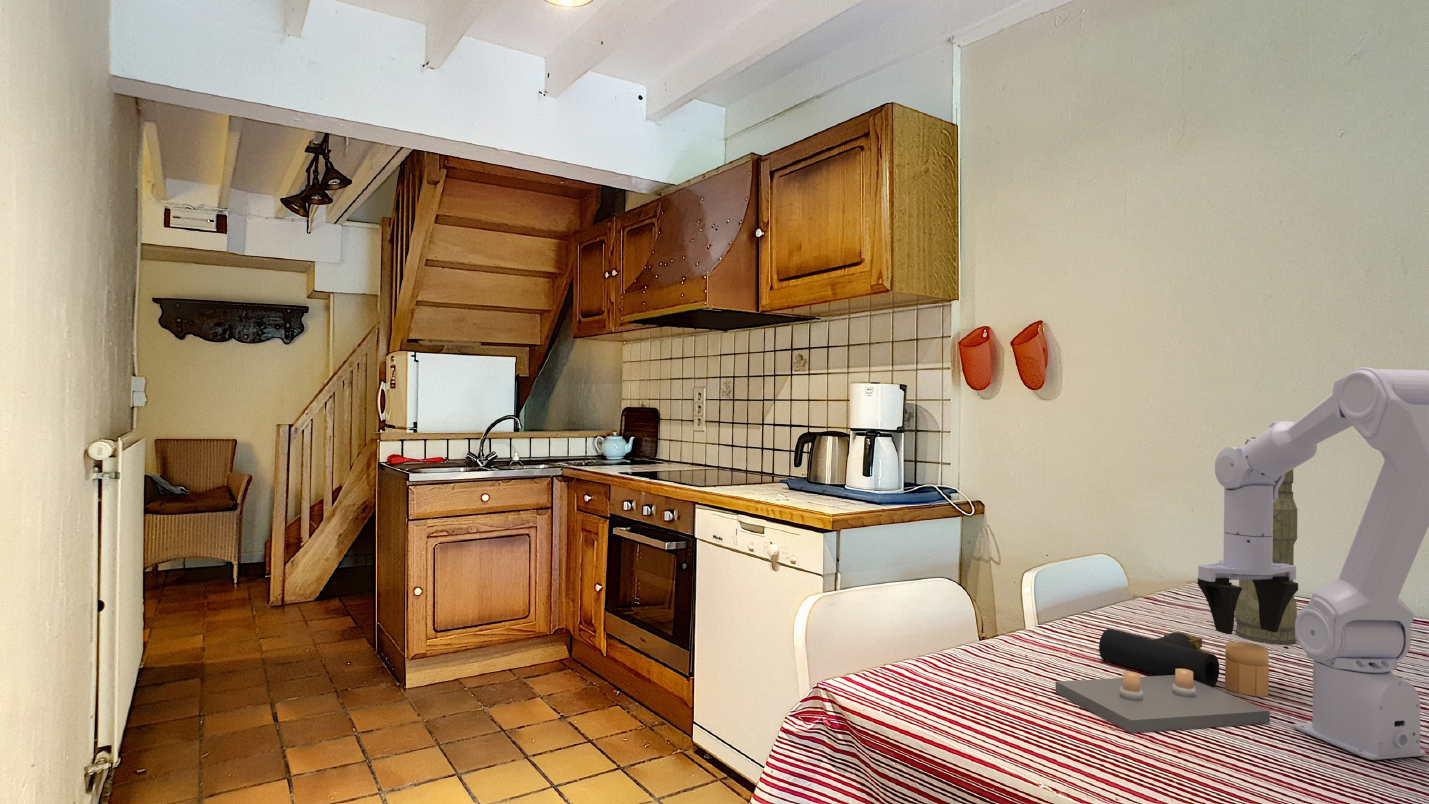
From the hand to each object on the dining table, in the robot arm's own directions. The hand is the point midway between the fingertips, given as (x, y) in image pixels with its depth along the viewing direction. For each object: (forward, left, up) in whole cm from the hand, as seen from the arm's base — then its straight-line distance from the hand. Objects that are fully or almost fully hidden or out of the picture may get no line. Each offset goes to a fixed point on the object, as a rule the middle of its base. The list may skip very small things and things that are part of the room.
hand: (1246, 631), depth 111 cm
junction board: (-4, +18, -8) cm, 20 cm away
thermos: (+23, -28, -8) cm, 37 cm away
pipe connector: (+10, +4, -9) cm, 13 cm away
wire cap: (0, 0, -8) cm, 8 cm away
